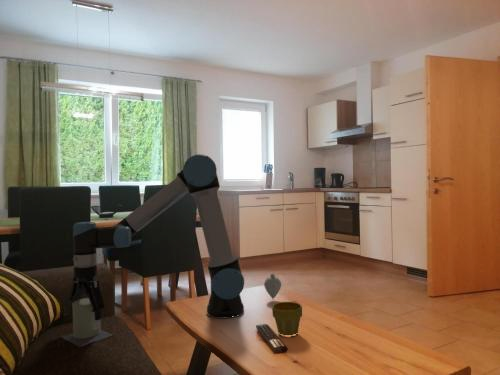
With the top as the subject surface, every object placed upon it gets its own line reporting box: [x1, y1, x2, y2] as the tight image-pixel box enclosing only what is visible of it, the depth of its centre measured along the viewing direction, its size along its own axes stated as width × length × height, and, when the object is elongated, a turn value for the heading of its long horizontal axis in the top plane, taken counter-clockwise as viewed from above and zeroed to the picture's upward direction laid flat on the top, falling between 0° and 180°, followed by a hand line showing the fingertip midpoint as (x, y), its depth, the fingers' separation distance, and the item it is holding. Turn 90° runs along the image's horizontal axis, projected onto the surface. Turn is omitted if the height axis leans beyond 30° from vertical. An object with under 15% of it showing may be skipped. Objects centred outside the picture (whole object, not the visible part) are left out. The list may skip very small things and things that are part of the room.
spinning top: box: [264, 272, 282, 299], centre depth 168 cm, size 8×8×12 cm
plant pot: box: [271, 301, 303, 335], centre depth 130 cm, size 10×10×10 cm
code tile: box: [60, 329, 114, 348], centre depth 132 cm, size 14×12×1 cm
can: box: [71, 297, 102, 339], centre depth 134 cm, size 9×9×12 cm
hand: (86, 324), depth 134 cm, fingers open, 13 cm apart
